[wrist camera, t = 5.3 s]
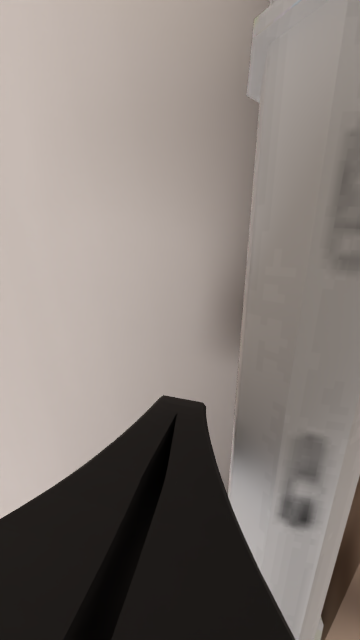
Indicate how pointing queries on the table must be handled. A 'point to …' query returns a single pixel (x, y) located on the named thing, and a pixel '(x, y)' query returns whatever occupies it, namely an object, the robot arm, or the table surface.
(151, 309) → the table surface
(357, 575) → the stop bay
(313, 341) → the white tube
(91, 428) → the table surface
